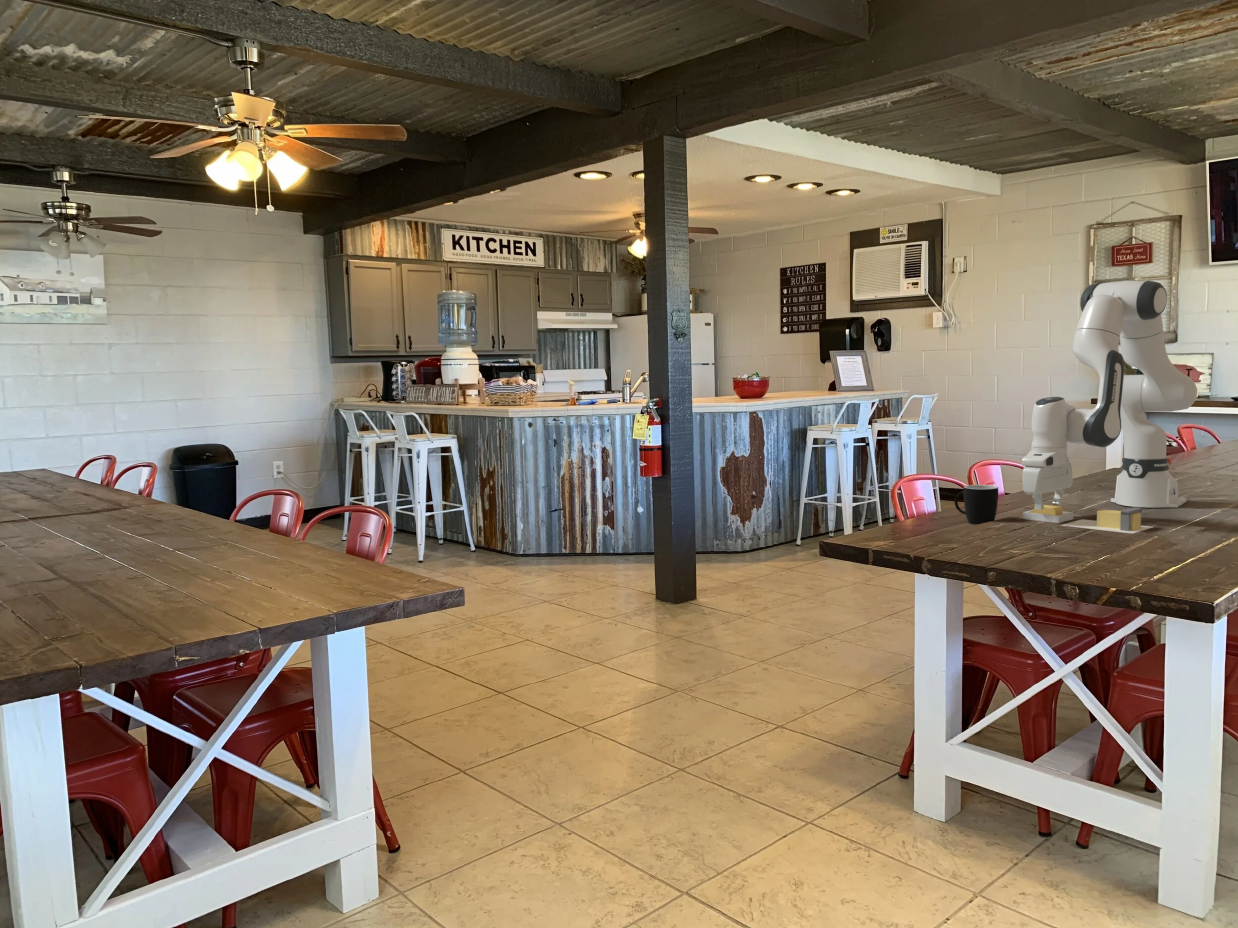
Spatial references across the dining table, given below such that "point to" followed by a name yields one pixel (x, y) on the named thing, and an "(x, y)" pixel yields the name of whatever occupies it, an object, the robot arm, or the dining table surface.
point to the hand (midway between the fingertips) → (1048, 507)
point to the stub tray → (1048, 516)
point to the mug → (979, 503)
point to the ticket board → (1094, 526)
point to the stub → (1050, 510)
